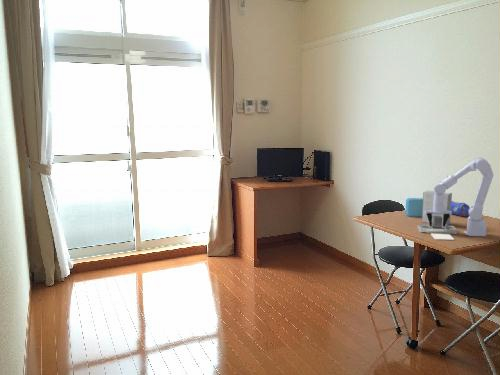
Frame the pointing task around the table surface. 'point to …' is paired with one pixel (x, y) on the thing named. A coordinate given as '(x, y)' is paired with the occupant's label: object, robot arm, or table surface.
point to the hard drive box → (428, 205)
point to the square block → (437, 222)
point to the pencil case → (459, 209)
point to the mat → (442, 236)
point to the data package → (414, 207)
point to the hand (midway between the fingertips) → (437, 226)
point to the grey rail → (437, 229)
